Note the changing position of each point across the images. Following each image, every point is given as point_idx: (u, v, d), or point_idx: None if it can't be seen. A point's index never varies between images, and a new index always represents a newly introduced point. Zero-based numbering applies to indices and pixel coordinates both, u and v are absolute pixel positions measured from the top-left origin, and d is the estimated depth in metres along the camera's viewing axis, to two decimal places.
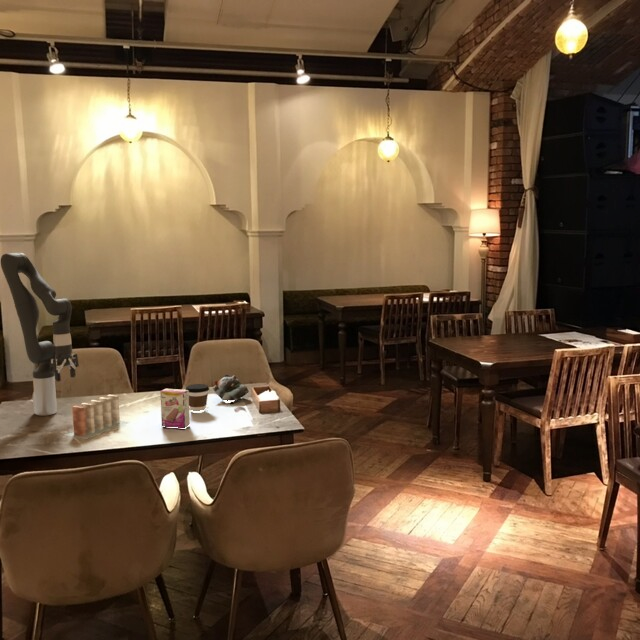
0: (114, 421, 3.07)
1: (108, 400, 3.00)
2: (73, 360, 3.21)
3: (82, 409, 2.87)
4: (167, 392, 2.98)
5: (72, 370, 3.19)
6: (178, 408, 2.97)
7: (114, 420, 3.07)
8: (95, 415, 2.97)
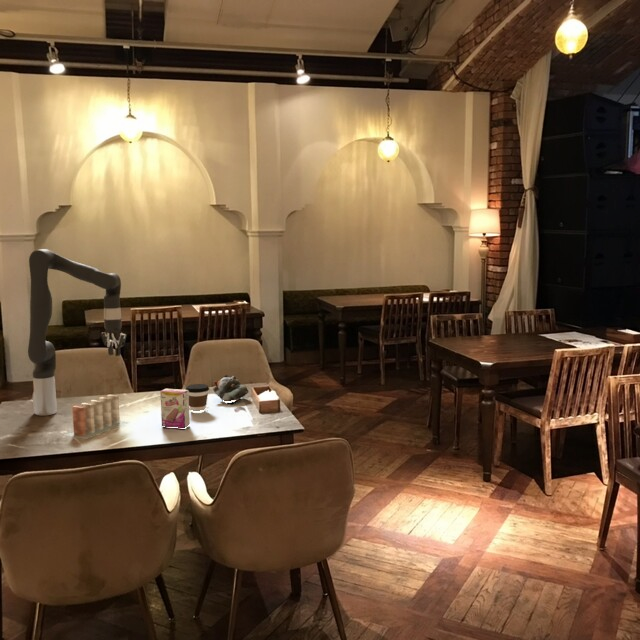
0: (114, 421, 3.07)
1: (108, 400, 3.00)
2: (105, 338, 3.20)
3: (82, 409, 2.87)
4: (167, 392, 2.98)
5: (112, 348, 3.20)
6: (178, 408, 2.97)
7: (114, 420, 3.07)
8: (95, 415, 2.97)
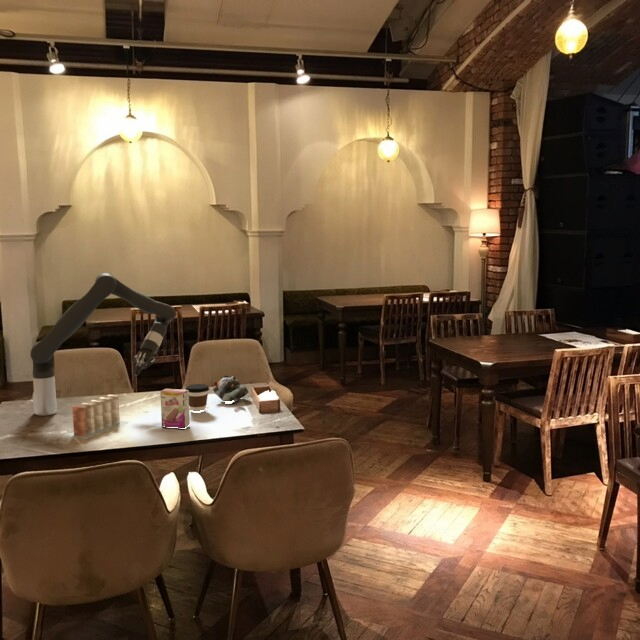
0: (114, 421, 3.07)
1: (108, 400, 3.00)
2: (135, 360, 3.23)
3: (82, 409, 2.87)
4: (167, 392, 2.98)
5: None
6: (178, 408, 2.97)
7: (114, 420, 3.07)
8: (95, 415, 2.97)
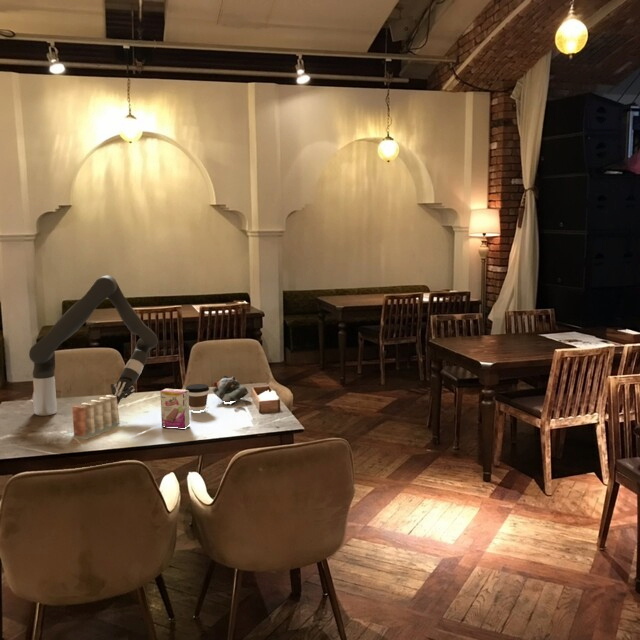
0: (113, 421, 3.07)
1: (108, 400, 3.00)
2: (114, 389, 3.12)
3: (82, 409, 2.87)
4: (167, 392, 2.98)
5: None
6: (178, 408, 2.97)
7: (114, 420, 3.07)
8: (95, 415, 2.97)
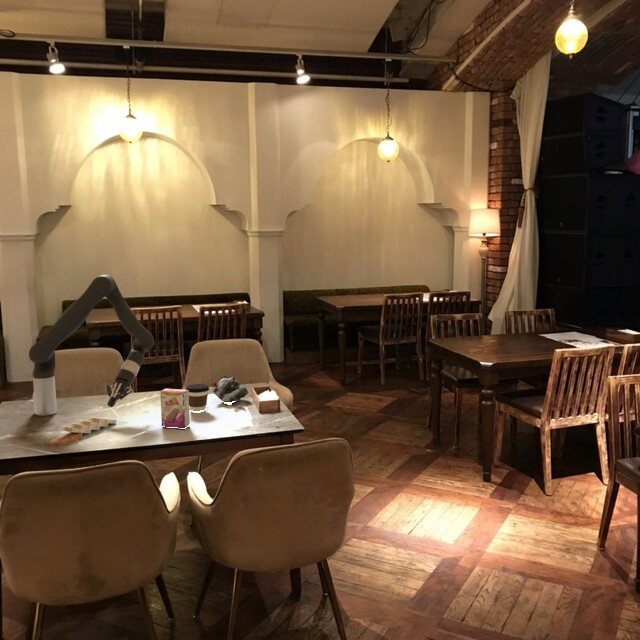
0: None
1: (88, 424, 2.91)
2: (110, 390, 3.10)
3: (61, 444, 2.78)
4: (167, 392, 2.98)
5: None
6: (178, 408, 2.97)
7: None
8: None
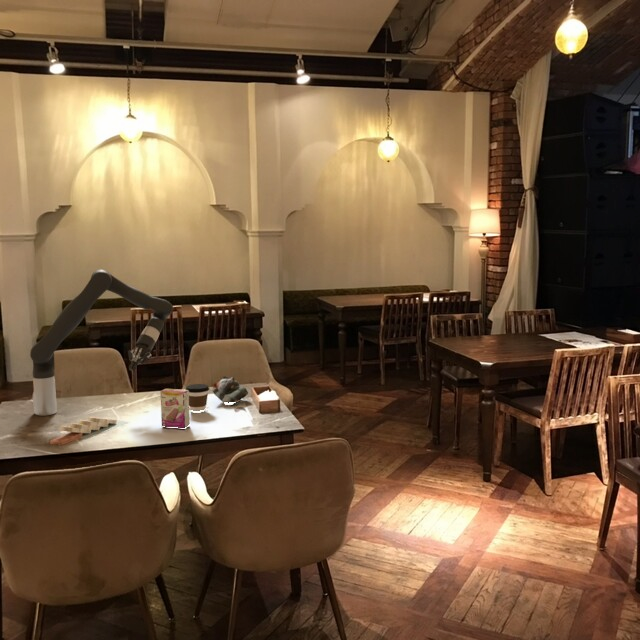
0: None
1: (88, 424, 2.91)
2: (131, 355, 3.21)
3: (61, 444, 2.78)
4: (167, 392, 2.98)
5: None
6: (178, 408, 2.97)
7: None
8: None
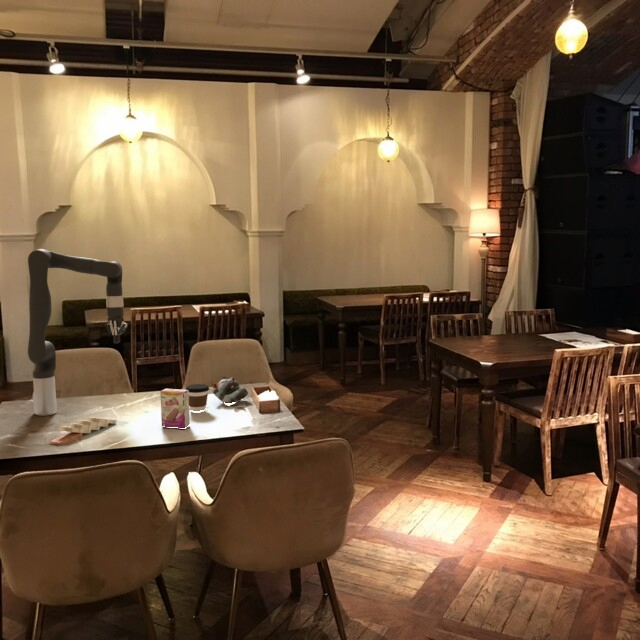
0: None
1: (88, 424, 2.91)
2: (109, 326, 3.24)
3: (61, 444, 2.78)
4: (167, 392, 2.98)
5: None
6: (178, 408, 2.97)
7: None
8: None
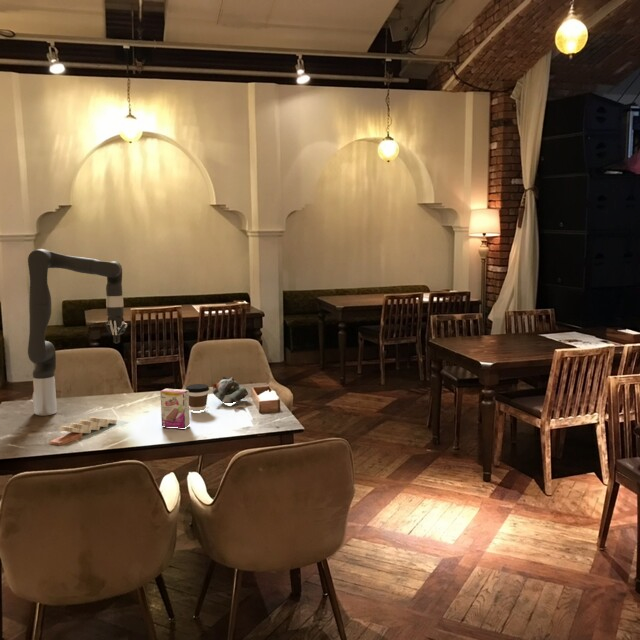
0: None
1: (88, 424, 2.91)
2: (109, 326, 3.24)
3: (61, 444, 2.78)
4: (167, 392, 2.98)
5: None
6: (178, 408, 2.97)
7: None
8: None
